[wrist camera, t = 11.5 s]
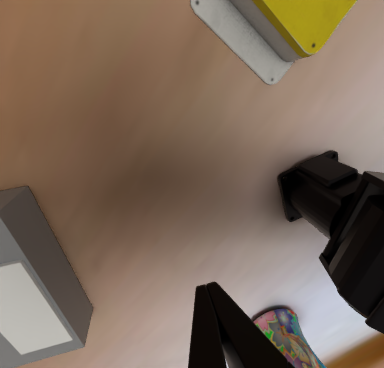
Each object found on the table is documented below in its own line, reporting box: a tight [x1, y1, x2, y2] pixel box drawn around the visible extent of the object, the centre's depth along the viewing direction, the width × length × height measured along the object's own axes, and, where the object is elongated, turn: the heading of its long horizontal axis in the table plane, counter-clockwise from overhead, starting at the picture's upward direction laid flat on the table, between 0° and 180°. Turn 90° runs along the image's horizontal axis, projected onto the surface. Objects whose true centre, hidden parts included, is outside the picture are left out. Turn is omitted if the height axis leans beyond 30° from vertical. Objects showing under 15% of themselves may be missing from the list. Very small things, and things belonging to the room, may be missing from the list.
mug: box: [254, 309, 326, 368], centre depth 28 cm, size 12×9×11 cm
